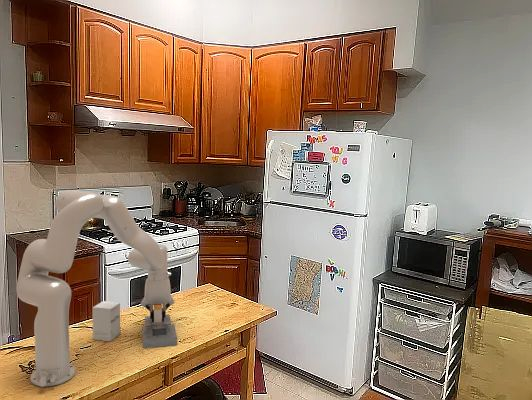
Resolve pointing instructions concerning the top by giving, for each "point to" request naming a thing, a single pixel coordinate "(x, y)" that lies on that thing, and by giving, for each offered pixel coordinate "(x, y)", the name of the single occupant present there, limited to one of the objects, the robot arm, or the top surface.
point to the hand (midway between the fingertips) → (157, 319)
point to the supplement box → (106, 320)
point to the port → (159, 336)
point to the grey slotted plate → (149, 323)
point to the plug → (157, 313)
